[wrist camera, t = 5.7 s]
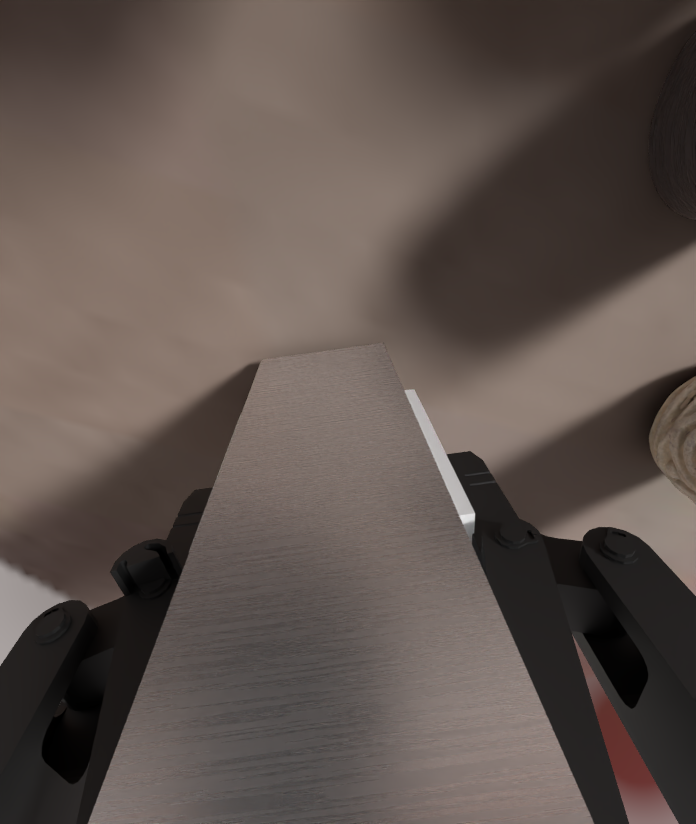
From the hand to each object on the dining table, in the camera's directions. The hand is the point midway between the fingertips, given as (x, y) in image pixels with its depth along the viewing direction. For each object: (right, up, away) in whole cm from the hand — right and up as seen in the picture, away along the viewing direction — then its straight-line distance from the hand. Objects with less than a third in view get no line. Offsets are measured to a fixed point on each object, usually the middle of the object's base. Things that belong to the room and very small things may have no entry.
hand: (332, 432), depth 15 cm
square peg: (0, +1, +2) cm, 2 cm away
